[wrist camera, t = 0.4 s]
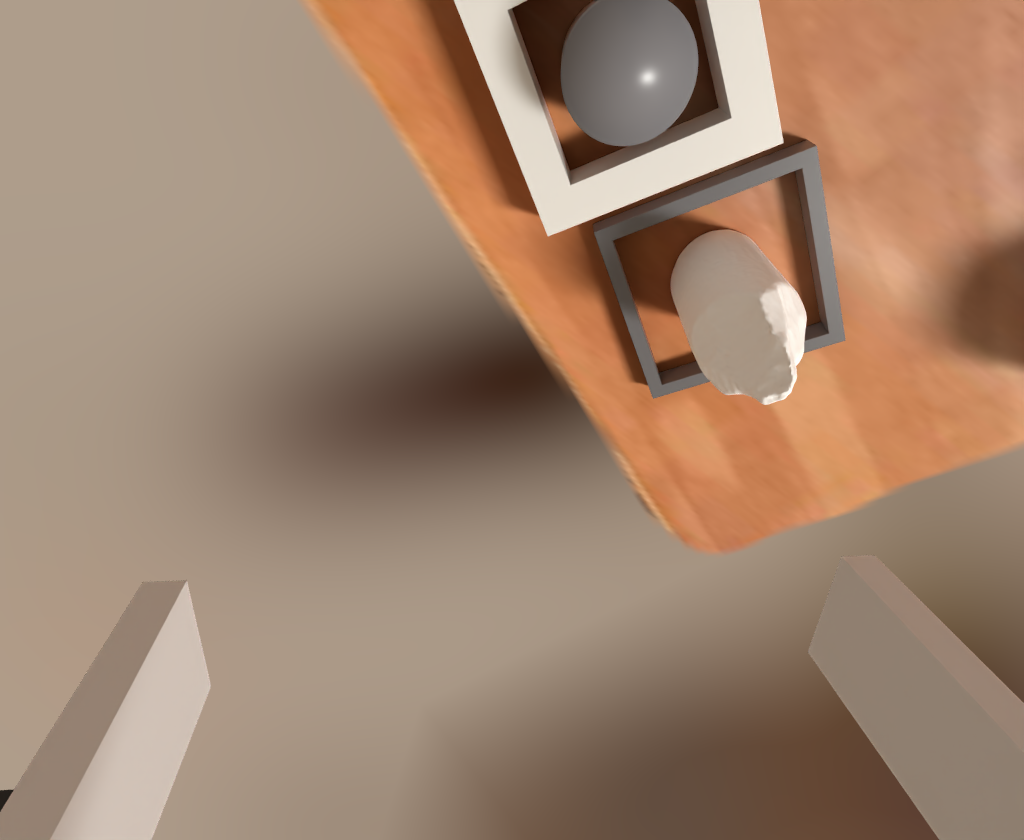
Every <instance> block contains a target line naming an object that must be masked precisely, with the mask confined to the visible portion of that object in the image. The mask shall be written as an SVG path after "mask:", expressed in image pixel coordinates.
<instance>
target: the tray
mask: <svg viewBox="0 0 1024 840" xmlns="http://www.w3.org/2000/svg"><path fill="white" fill-rule="evenodd" d="M793 171H795V173H796V179H797V185H798V191H799V197H800V203H801V209H802V215H803V221H804V227H805V233H806V238H807V244H808V250H809V256H810V262H811V268H812V274H813V280H814V286H815V292H816V298H817V304H818V310H819V316H820V321H821V322H819V323H816V324H813V325H810V326H807V327H806V329H805V341H804V353H805V352H809V351H812V350H815V349H819V348H822V347H825V346H829V345H832V344H835V343H838V342H842V341H845V334H844V327H843V321H842V314H841V307H840V300H839V293H838V287H837V280H836V273H835V266H834V260H833V253H832V246H831V239H830V232H829V226H828V219H827V212H826V205H825V198H824V192H823V185H822V178H821V171H820V165H819V158H818V151H817V146H816V145H815V144H813V143H812V142H810V141H808V140H805V141H802V142H800V143H797V144H795V145H792V146H790V147H787V148H785V149H782V150H780V151H777V152H774V153H772V154H769V155H767V156H764V157H762V158H759V159H757V160H754V161H752V162H749V163H747V164H744V165H741V166H739V167H736V168H734V169H731V170H729V171H726V172H724V173H721V174H719V175H716V176H714V177H711V178H709V179H706V180H703V181H701V182H698V183H696V184H693V185H691V186H688V187H686V188H683V189H681V190H678V191H676V192H673V193H671V194H668V195H665V196H663V197H660V198H658V199H655V200H653V201H650V202H648V203H645V204H643V205H640V206H638V207H635V208H632V209H630V210H627V211H625V212H622V213H620V214H617V215H615V216H612V217H610V218H607V219H605V220H602V221H600V222H597V223H594V224H593V229H594V234H595V237H596V240H597V243H598V245H599V248H600V251H601V254H602V257H603V260H604V262H605V265H606V268H607V271H608V274H609V276H610V279H611V282H612V285H613V288H614V290H615V293H616V296H617V299H618V302H619V304H620V307H621V310H622V313H623V316H624V318H625V321H626V324H627V327H628V330H629V333H630V335H631V338H632V341H633V344H634V347H635V349H636V352H637V355H638V358H639V361H640V363H641V366H642V369H643V372H644V375H645V377H646V380H647V383H648V386H649V389H650V391H651V394H652V397H653V399H654V398H657V397H660V396H664V395H667V394H670V393H673V392H677V391H680V390H683V389H687V388H690V387H693V386H697V385H700V384H703V383H706V382H710V381H709V380H708V379H707V378H706V376H705V375H704V374H703V372H702V371H701V369H700V367H699V365H698V363H697V361H695V362H692V363H689V364H686V365H683V366H679V367H676V368H673V369H670V370H667V371H663V372H660V373H659V372H658V369H657V366H656V363H655V360H654V357H653V354H652V351H651V348H650V345H649V342H648V339H647V336H646V333H645V330H644V328H643V325H642V322H641V319H640V316H639V313H638V310H637V307H636V304H635V301H634V298H633V295H632V292H631V289H630V286H629V284H628V281H627V278H626V275H625V272H624V269H623V266H622V263H621V260H620V257H619V254H618V251H617V248H616V245H615V242H614V240H616V239H618V238H621V237H623V236H626V235H629V234H631V233H634V232H636V231H639V230H642V229H644V228H647V227H649V226H652V225H655V224H657V223H660V222H663V221H665V220H668V219H670V218H673V217H676V216H678V215H681V214H683V213H686V212H689V211H691V210H694V209H696V208H699V207H702V206H704V205H707V204H710V203H712V202H715V201H717V200H720V199H723V198H725V197H728V196H730V195H733V194H736V193H738V192H741V191H743V190H746V189H749V188H751V187H754V186H757V185H759V184H762V183H764V182H767V181H770V180H772V179H775V178H777V177H780V176H783V175H785V174H788V173H790V172H793Z"/></svg>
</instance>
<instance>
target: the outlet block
mask: <svg viewBox="0 0 1024 840" xmlns="http://www.w3.org/2000/svg"><path fill="white" fill-rule="evenodd" d="M525 1H527V0H454V2H455V4H456V7H457V9H458V12H459V14H460V17H461V19H462V22H463V24H464V27H465V29H466V32H467V34H468V37H469V39H470V42H471V45H472V47H473V50H474V52H475V55H476V57H477V60H478V62H479V65H480V67H481V70H482V72H483V75H484V77H485V80H486V82H487V85H488V87H489V90H490V92H491V95H492V97H493V100H494V102H495V105H496V107H497V110H498V112H499V115H500V117H501V120H502V122H503V125H504V127H505V130H506V132H507V135H508V137H509V140H510V142H511V145H512V147H513V150H514V152H515V155H516V157H517V160H518V163H519V165H520V168H521V170H522V173H523V175H524V178H525V180H526V183H527V185H528V188H529V190H530V193H531V195H532V198H533V200H534V203H535V205H536V208H537V210H538V213H539V215H540V218H541V220H542V223H543V225H544V228H545V230H546V233H547V235H548V236H550V235H553V234H556V233H558V232H561V231H563V230H566V229H568V228H571V227H573V226H576V225H578V224H581V223H583V222H586V221H588V220H591V219H593V218H596V217H598V216H601V215H603V214H606V213H608V212H611V211H613V210H616V209H619V208H621V207H624V206H626V205H629V204H631V203H634V202H636V201H639V200H641V199H644V198H646V197H649V196H651V195H654V194H656V193H659V192H661V191H664V190H666V189H669V188H671V187H674V186H676V185H679V184H681V183H684V182H687V181H689V180H692V179H694V178H697V177H699V176H702V175H704V174H707V173H709V172H712V171H714V170H717V169H719V168H722V167H724V166H727V165H729V164H732V163H734V162H737V161H739V160H742V159H744V158H747V157H749V156H752V155H755V154H757V153H760V152H762V151H765V150H767V149H770V148H772V147H775V146H777V145H780V144H782V143H784V142H783V137H782V131H781V125H780V119H779V114H778V108H777V102H776V96H775V91H774V85H773V79H772V74H771V68H770V62H769V56H768V51H767V45H766V39H765V33H764V28H763V22H762V16H761V10H760V5H759V0H695V3H696V7H697V12H698V16H699V21H700V25H701V30H702V34H703V39H704V44H705V48H706V53H707V57H708V62H709V66H710V71H711V75H712V80H713V84H714V89H715V93H716V98H717V102H718V107H719V108H717V109H715V110H712V111H710V112H708V113H705V114H703V115H701V116H698V117H696V118H693V119H691V120H689V121H686V122H684V123H682V124H679V125H677V126H675V127H672V128H670V129H668V128H669V127H670V126H671V125H672V124H673V123H674V122H675V121H676V120H677V119H678V117H679V116H680V115H681V113H682V112H683V111H684V109H685V107H686V105H687V104H688V102H689V100H690V97H691V95H692V93H693V90H694V87H695V83H696V78H697V73H698V50H697V43H696V40H695V36H694V33H693V31H692V29H691V26H690V24H689V22H688V21H687V19H686V18H685V16H684V15H683V14H682V13H681V11H680V10H679V9H678V8H677V7H676V6H675V5H673V4H672V3H671V2H669V1H668V0H593V1H592V2H590V3H589V4H588V5H586V6H585V7H584V8H583V9H582V10H581V11H580V13H579V14H578V15H577V17H576V18H575V19H574V21H573V23H572V24H571V26H570V28H569V30H568V32H567V35H566V38H565V41H564V45H563V50H562V59H561V87H562V94H563V97H564V101H565V104H566V106H567V109H568V111H569V113H570V115H571V116H572V118H573V120H574V121H575V122H576V124H577V125H578V126H579V127H580V128H581V129H582V130H583V131H584V132H585V133H586V134H588V135H589V136H590V137H592V138H594V139H596V140H597V141H600V142H602V143H605V144H609V145H613V146H627V147H625V148H623V149H620V150H618V151H616V152H613V153H611V154H609V155H606V156H604V157H602V158H599V159H597V160H594V161H592V162H590V163H587V164H585V165H583V166H580V167H578V168H576V169H573V170H571V171H570V169H569V167H568V164H567V161H566V158H565V155H564V153H563V150H562V147H561V144H560V141H559V139H558V136H557V133H556V130H555V127H554V125H553V122H552V119H551V116H550V113H549V111H548V108H547V105H546V102H545V99H544V97H543V94H542V91H541V88H540V85H539V83H538V80H537V77H536V74H535V71H534V69H533V66H532V63H531V60H530V57H529V55H528V52H527V49H526V46H525V44H524V41H523V38H522V35H521V32H520V30H519V27H518V24H517V21H516V18H515V16H514V13H513V10H512V8H514V7H516V6H517V5H519V4H521V3H523V2H525ZM666 129H668V130H666Z"/></svg>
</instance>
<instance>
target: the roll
mask: <svg viewBox="0 0 1024 840" xmlns="http://www.w3.org/2000/svg"><path fill="white" fill-rule="evenodd" d="M670 287H671V294H672V298H673V301H674V303H675V306H676V309H677V311H678V314H679V317H680V320H681V323H682V325H683V328H684V331H685V333H686V336H687V339H688V342H689V345H690V347H691V350H692V352H693V354H694V357H695V359H696V361H697V363H698V365H699V367H700V369H701V371H702V372H703V374H704V375H705V376H706V378H707V379H708V380H709V381H710V382H711V383H712V384H713V385H714V386H715V387H716V388H717V389H718V390H719V391H720V392H722V393H723V394H725V395H733V394H745V395H748V396H751V397H753V398H755V399H757V400H758V401H759V402H760V403H762V404H764V405H767V404H771V403H773V402H776V401H781V400H784V399H785V398H786V397H787V396H788V395H789V394H790V393H791V391H792V388H793V386H794V383H795V381H796V379H797V373H796V372H797V369H796V365H797V364H798V363H799V362H800V360H801V358H802V356H803V353H804V341H805V329H806V321H807V316H806V311H805V308H804V305H803V303H802V301H801V299H800V297H799V295H798V293H797V292H796V290H795V289H794V288H793V287H792V286H791V284H790V283H789V282H788V281H787V280H786V279H785V278H784V277H783V275H782V274H781V273H780V272H779V271H778V270H777V269H776V267H775V266H774V265H773V264H772V263H771V261H770V260H769V259H768V258H767V257H766V256H765V254H764V253H763V252H762V251H761V250H760V248H759V247H758V246H757V244H756V243H755V242H754V241H753V240H752V239H751V238H749V237H748V236H746V235H744V234H742V233H740V232H737V231H733V230H730V229H726V230H725V229H724V230H716V231H710V232H708V233H705V234H703V235H701V236H699V237H697V238H696V239H694V240H693V241H692V242H690V243H689V244H688V245H687V246H686V248H685V249H684V250H683V251H682V253H681V254H680V255H679V257H678V259H677V261H676V263H675V266H674V269H673V272H672V275H671V283H670Z"/></svg>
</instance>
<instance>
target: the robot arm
mask: <svg viewBox="0 0 1024 840" xmlns="http://www.w3.org/2000/svg"><path fill="white" fill-rule="evenodd" d="M808 653H809V654H810V656H811V657H812V659H813V660H814V661H815V663H816V664H817V665H818V667H819V669H820V670H821V671H822V673H823V674H824V676H825V677H826V678H827V680H828V681H829V683H830V684H831V686H832V687H833V689H834V690H835V691H836V693H837V694H838V696H839V697H840V698H841V700H842V701H843V703H844V704H845V706H846V707H847V709H848V710H849V711H850V713H851V714H852V716H853V717H854V718H855V720H856V721H857V723H858V724H859V726H860V727H861V728H862V730H863V731H864V733H865V734H866V735H867V737H868V738H869V740H870V741H871V742H872V744H873V746H874V747H875V748H876V750H877V751H878V752H879V754H880V755H881V757H882V758H883V760H884V761H885V763H886V764H887V766H888V767H889V768H890V770H891V771H892V773H893V774H894V776H895V777H896V778H897V780H898V781H899V783H900V784H901V785H902V787H903V788H904V790H905V791H906V793H907V794H908V795H909V797H910V798H911V800H912V801H913V803H914V804H915V805H916V807H917V808H918V810H919V811H920V812H921V814H922V815H923V817H924V818H925V820H926V821H927V823H928V824H929V825H930V827H931V828H932V830H933V831H934V833H935V834H936V835H937V837H938V838H939V840H1024V703H1023V702H1022V701H1021V700H1020V699H1019V698H1018V697H1017V696H1016V695H1015V694H1014V693H1013V692H1012V691H1011V690H1010V689H1008V687H1007V686H1006V685H1005V684H1004V683H1003V682H1002V681H1001V680H1000V679H999V678H998V677H997V676H996V675H995V674H994V673H993V672H992V671H990V669H989V668H988V667H987V666H985V665H984V664H983V663H982V661H981V660H980V659H979V658H978V657H977V656H976V655H974V654H973V653H972V651H971V650H970V649H968V648H967V647H966V646H965V645H964V644H963V643H962V642H961V641H960V640H959V639H958V638H957V637H956V636H955V635H954V634H953V633H952V632H951V631H950V630H949V629H948V628H947V627H946V626H945V625H944V624H943V623H942V622H941V621H940V620H939V619H938V618H937V617H936V616H935V615H934V614H933V613H932V612H931V611H930V610H929V609H928V608H927V607H926V606H925V605H924V604H923V603H922V602H921V601H920V600H919V599H918V598H917V597H916V596H915V595H914V594H913V593H912V592H911V591H910V590H909V589H908V588H907V587H906V586H905V585H904V584H903V583H902V582H901V581H900V580H899V579H898V578H897V577H896V576H895V575H894V574H893V573H892V572H891V571H890V570H889V569H888V568H887V567H886V566H885V565H884V564H883V563H882V562H881V561H880V560H879V559H878V558H877V557H876V556H875V555H868V556H842V557H841V559H840V562H839V565H838V568H837V571H836V573H835V576H834V579H833V582H832V585H831V588H830V591H829V593H828V596H827V599H826V602H825V605H824V608H823V611H822V613H821V616H820V619H819V622H818V625H817V628H816V630H815V633H814V636H813V640H812V642H811V645H810V648H809V651H808ZM210 687H211V684H210V680H209V675H208V671H207V667H206V662H205V658H204V654H203V649H202V645H201V640H200V636H199V632H198V628H197V623H196V618H195V614H194V611H193V605H192V601H191V597H190V592H189V588H188V583H187V581H184V580H183V581H157V582H142V584H141V586H140V587H139V589H138V590H137V592H136V594H135V595H134V597H133V599H132V600H131V602H130V604H129V605H128V607H127V608H126V610H125V611H124V613H123V615H122V616H121V618H120V620H119V621H118V623H117V625H116V626H115V628H114V629H113V631H112V632H111V634H110V636H109V637H108V639H107V641H106V642H105V644H104V645H103V647H102V649H101V650H100V652H99V653H98V655H97V657H96V658H95V660H94V662H93V663H92V665H91V666H90V668H89V670H88V671H87V673H86V674H85V676H84V678H83V679H82V681H81V682H80V684H79V686H78V687H77V689H76V691H75V692H74V694H73V696H72V697H71V699H70V700H69V702H68V703H67V705H66V707H65V708H64V710H63V712H62V714H61V715H60V716H59V718H58V720H57V721H56V723H55V724H54V726H53V728H52V729H51V731H50V733H49V734H48V736H47V737H46V739H45V741H44V742H43V744H42V745H41V747H40V749H39V750H38V752H37V753H36V755H35V757H34V758H33V760H32V762H31V763H30V765H29V766H28V768H27V770H26V771H25V773H24V774H23V776H22V778H21V779H20V781H19V783H18V784H17V786H16V787H15V789H14V790H1V791H0V840H151V839H152V837H153V834H154V832H155V829H156V827H157V824H158V822H159V819H160V816H161V814H162V811H163V808H164V806H165V803H166V801H167V798H168V796H169V793H170V791H171V788H172V785H173V783H174V780H175V777H176V775H177V772H178V770H179V767H180V765H181V762H182V760H183V757H184V754H185V752H186V749H187V746H188V744H189V741H190V739H191V736H192V734H193V731H194V729H195V726H196V723H197V721H198V718H199V716H200V713H201V710H202V708H203V705H204V702H205V700H206V698H207V695H208V692H209V690H210Z"/></svg>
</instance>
